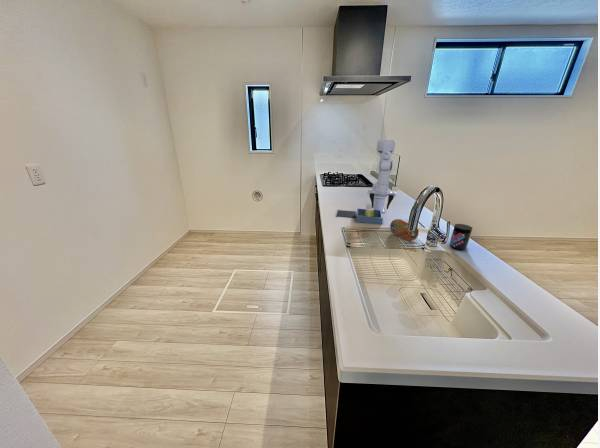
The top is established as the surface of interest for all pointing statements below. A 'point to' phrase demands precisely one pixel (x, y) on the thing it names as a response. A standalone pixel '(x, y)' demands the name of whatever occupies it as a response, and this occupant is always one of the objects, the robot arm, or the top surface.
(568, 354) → the top surface
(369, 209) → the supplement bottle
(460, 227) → the supplement container
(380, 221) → the crate
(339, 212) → the mat
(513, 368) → the top surface
